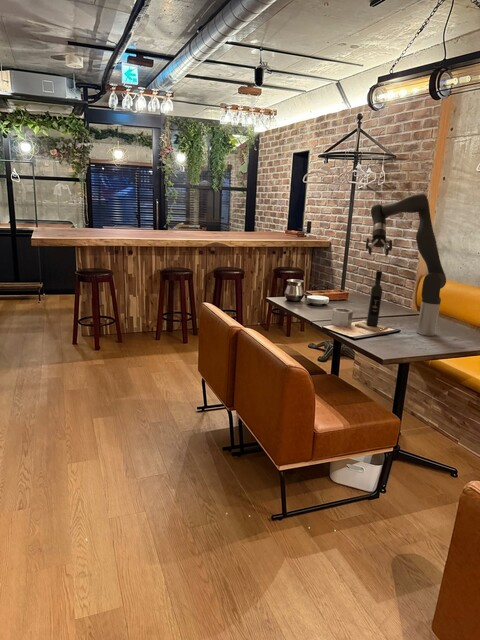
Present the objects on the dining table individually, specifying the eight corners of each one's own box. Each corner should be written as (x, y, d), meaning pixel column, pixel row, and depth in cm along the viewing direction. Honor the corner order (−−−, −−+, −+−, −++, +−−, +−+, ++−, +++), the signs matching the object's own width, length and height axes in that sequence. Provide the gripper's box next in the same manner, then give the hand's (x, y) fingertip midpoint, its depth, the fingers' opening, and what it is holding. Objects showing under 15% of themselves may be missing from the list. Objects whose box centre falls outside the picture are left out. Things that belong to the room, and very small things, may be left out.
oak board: (367, 322, 261) (367, 321, 261) (387, 328, 252) (388, 326, 252) (354, 326, 252) (354, 324, 252) (375, 331, 243) (376, 329, 243)
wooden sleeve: (338, 320, 261) (340, 307, 259) (354, 325, 254) (356, 311, 252) (328, 323, 254) (329, 309, 252) (343, 327, 247) (345, 313, 245)
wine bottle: (377, 327, 249) (385, 272, 242) (366, 326, 250) (374, 271, 242) (376, 324, 255) (384, 271, 247) (365, 323, 256) (373, 270, 248)
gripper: (367, 227, 260) (366, 249, 252) (393, 229, 258) (393, 251, 250) (365, 236, 267) (364, 257, 259) (390, 238, 264) (390, 260, 256)
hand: (378, 254), depth 254 cm, fingers open, 8 cm apart
